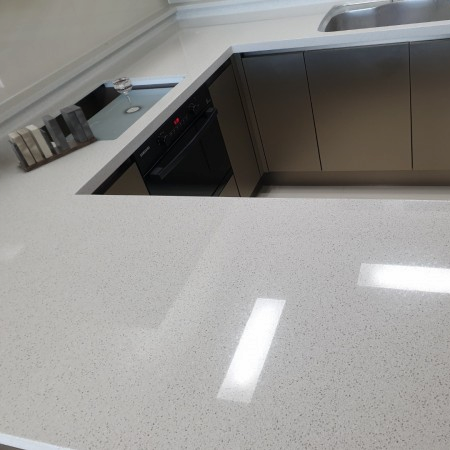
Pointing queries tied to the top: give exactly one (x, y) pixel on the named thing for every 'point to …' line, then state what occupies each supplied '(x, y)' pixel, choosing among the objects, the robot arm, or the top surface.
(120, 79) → the wineglass
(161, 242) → the top surface
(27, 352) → the top surface
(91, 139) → the book shelf
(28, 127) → the cream book
